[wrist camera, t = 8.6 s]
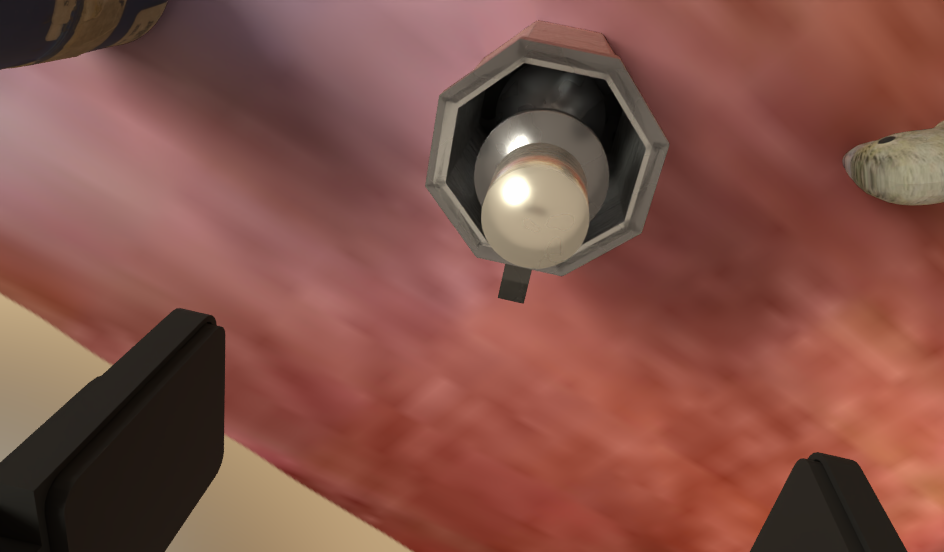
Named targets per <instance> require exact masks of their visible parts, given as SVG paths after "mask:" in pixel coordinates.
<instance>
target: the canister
mask: <svg viewBox="0 0 944 552" xmlns="http://www.w3.org/2000/svg"><path fill="white" fill-rule="evenodd" d="M167 2H168V0H0V70H1V69H6V68H17V67H21V66H28V65H34V64H39V63H45V62H50V61H55V60H60V59H66V58H71V57H77V56H79V55H81V54H83V53H87V52H90V51H94V50H98V49H102V48H106V47H111V46H117V45H122V44H126V43H129V42H132V41H134V40H136V39H138V38H140V37H141V36H143V35H144V34H145V33H147V32H148V31H149V30H150V29H151V28H152V27H153V26H154V25H155V24H156V23H157V21H158V20H159V18H160V17H161V15H162V14H163V12H164V9H165V7H166V5H167Z"/></svg>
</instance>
